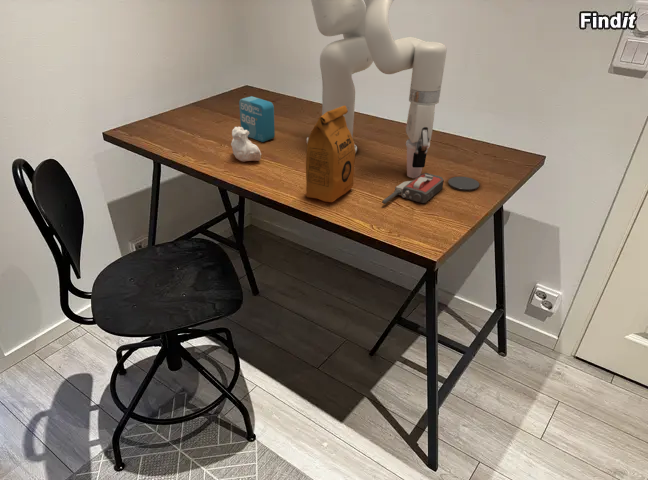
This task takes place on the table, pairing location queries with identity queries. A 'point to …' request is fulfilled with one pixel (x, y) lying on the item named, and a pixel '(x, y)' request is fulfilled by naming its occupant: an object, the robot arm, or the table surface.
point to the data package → (257, 118)
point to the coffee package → (330, 157)
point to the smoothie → (410, 153)
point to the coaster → (463, 184)
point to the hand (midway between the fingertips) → (415, 161)
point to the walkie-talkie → (418, 188)
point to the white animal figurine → (244, 146)
